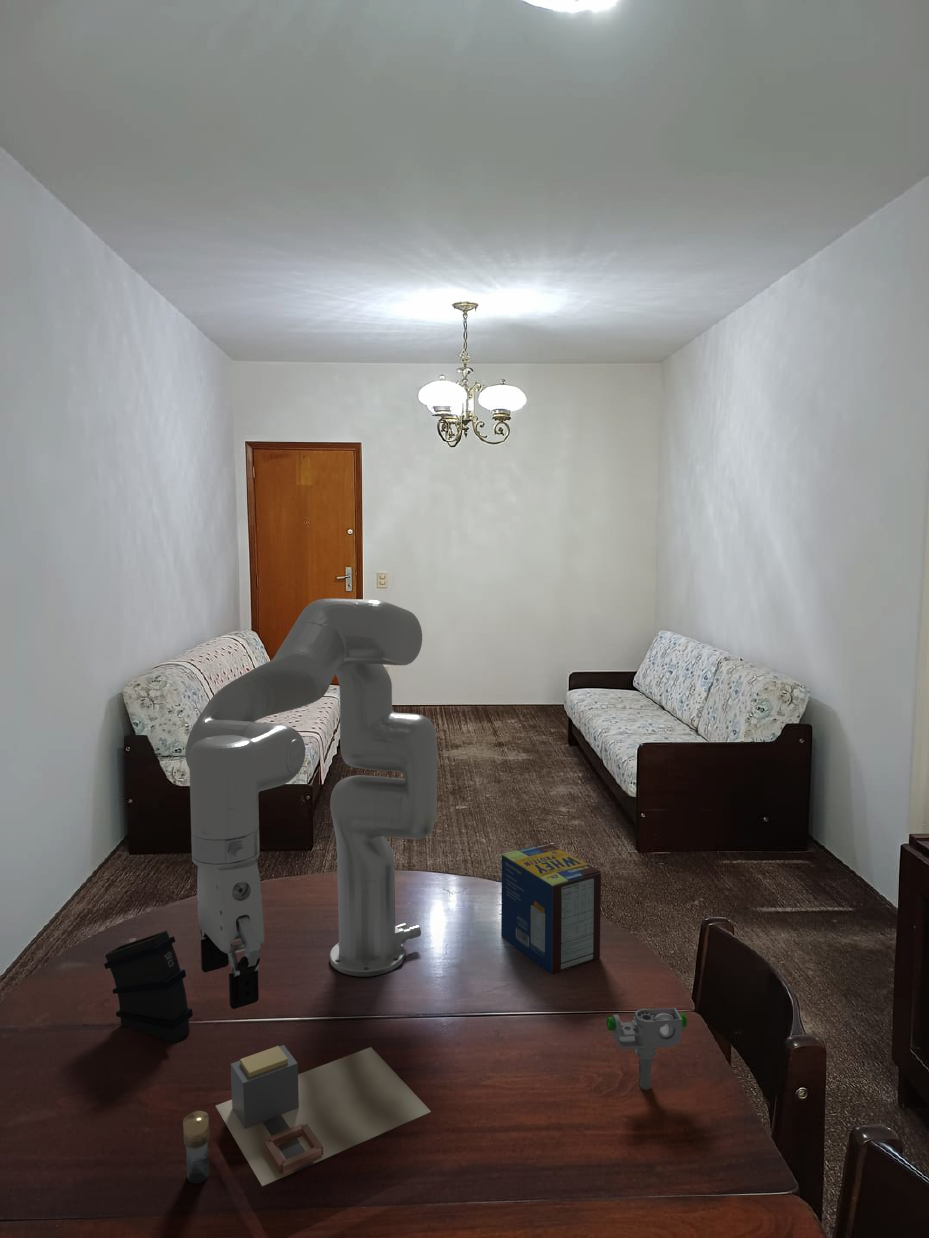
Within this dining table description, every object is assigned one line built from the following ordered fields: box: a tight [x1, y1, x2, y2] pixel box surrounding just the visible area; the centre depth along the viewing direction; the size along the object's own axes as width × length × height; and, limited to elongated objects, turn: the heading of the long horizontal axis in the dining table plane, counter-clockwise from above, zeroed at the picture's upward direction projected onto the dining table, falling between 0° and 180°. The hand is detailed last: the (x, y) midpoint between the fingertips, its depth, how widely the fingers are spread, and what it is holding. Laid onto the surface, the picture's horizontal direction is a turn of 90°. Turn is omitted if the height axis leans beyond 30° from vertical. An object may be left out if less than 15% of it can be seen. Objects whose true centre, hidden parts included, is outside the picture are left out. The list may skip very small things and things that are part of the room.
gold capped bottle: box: [182, 1110, 210, 1184], centre depth 102 cm, size 3×3×7 cm
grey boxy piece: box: [230, 1044, 299, 1129], centre depth 111 cm, size 7×4×7 cm, turn 123°
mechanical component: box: [606, 1007, 688, 1091], centre depth 117 cm, size 3×10×10 cm, turn 95°
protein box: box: [500, 842, 602, 975], centre depth 154 cm, size 10×15×16 cm
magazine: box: [103, 930, 193, 1044], centre depth 130 cm, size 4×13×15 cm, turn 64°
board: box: [215, 1046, 432, 1187], centre depth 112 cm, size 22×16×2 cm
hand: (229, 985), depth 104 cm, fingers open, 9 cm apart
